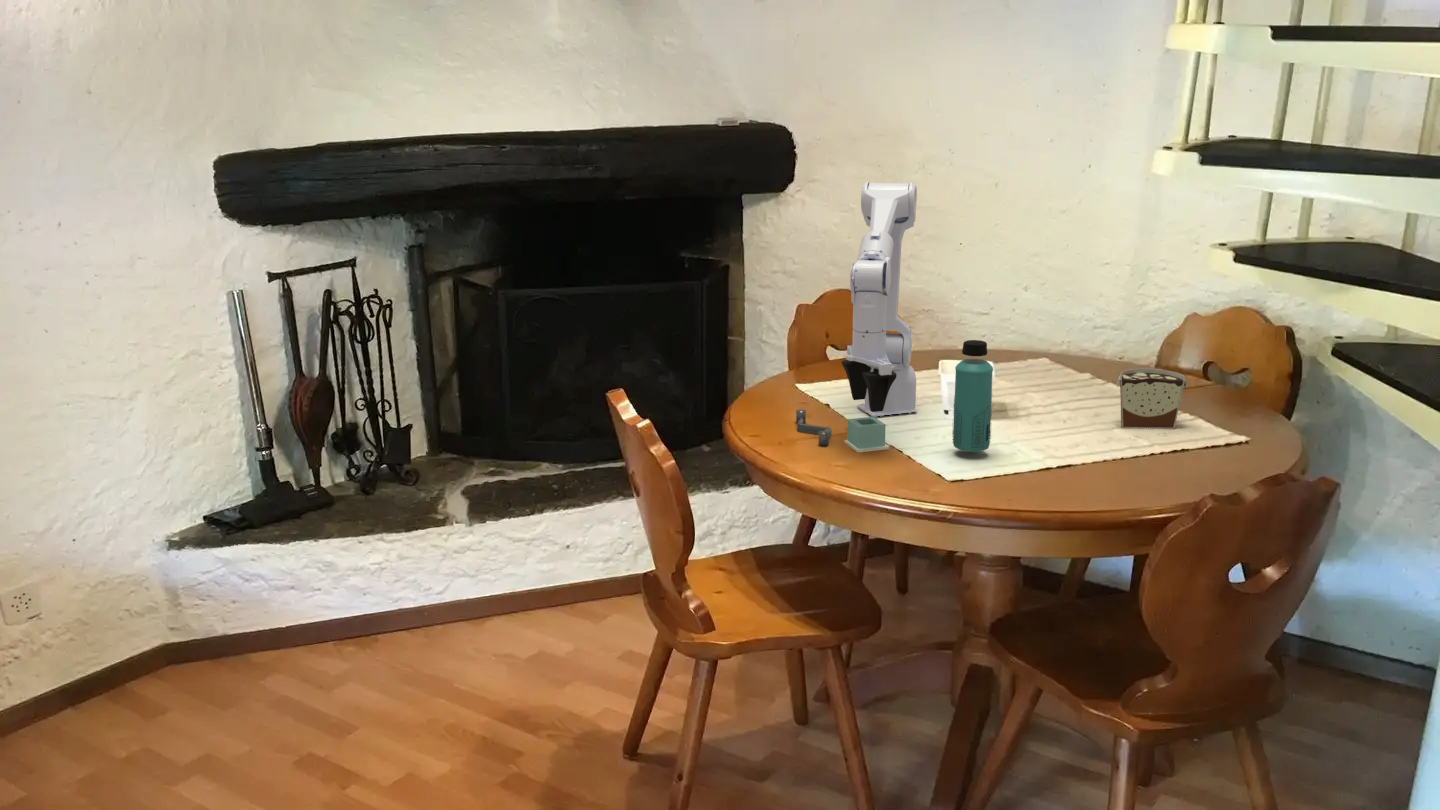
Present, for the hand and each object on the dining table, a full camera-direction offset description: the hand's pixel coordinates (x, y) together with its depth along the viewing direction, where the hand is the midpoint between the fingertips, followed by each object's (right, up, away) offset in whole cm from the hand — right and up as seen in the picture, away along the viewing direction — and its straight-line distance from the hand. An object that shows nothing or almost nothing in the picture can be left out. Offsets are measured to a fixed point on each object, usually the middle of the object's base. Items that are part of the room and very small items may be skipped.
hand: (867, 405), depth 195 cm
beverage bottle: (+17, -9, -3) cm, 20 cm away
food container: (+53, -4, +12) cm, 55 cm away
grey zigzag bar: (-9, -5, +10) cm, 14 cm away
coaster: (0, -7, +2) cm, 8 cm away
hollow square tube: (0, -7, +2) cm, 7 cm away
